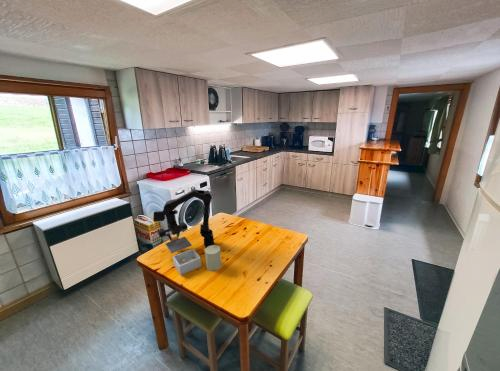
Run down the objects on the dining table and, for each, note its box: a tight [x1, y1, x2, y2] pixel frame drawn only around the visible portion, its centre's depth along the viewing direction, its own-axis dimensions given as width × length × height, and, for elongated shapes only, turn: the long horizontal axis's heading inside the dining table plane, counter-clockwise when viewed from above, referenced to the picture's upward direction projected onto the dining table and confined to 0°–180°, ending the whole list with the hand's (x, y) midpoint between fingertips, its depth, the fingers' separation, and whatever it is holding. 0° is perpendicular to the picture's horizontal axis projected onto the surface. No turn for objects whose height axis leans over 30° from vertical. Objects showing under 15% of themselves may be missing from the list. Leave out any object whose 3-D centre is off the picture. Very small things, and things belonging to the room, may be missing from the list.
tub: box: [172, 248, 202, 276], centre depth 133 cm, size 13×12×6 cm
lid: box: [165, 234, 192, 254], centre depth 143 cm, size 13×17×3 cm
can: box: [204, 244, 223, 272], centre depth 131 cm, size 9×9×12 cm
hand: (174, 240), depth 149 cm, fingers closed on lid, 4 cm apart
